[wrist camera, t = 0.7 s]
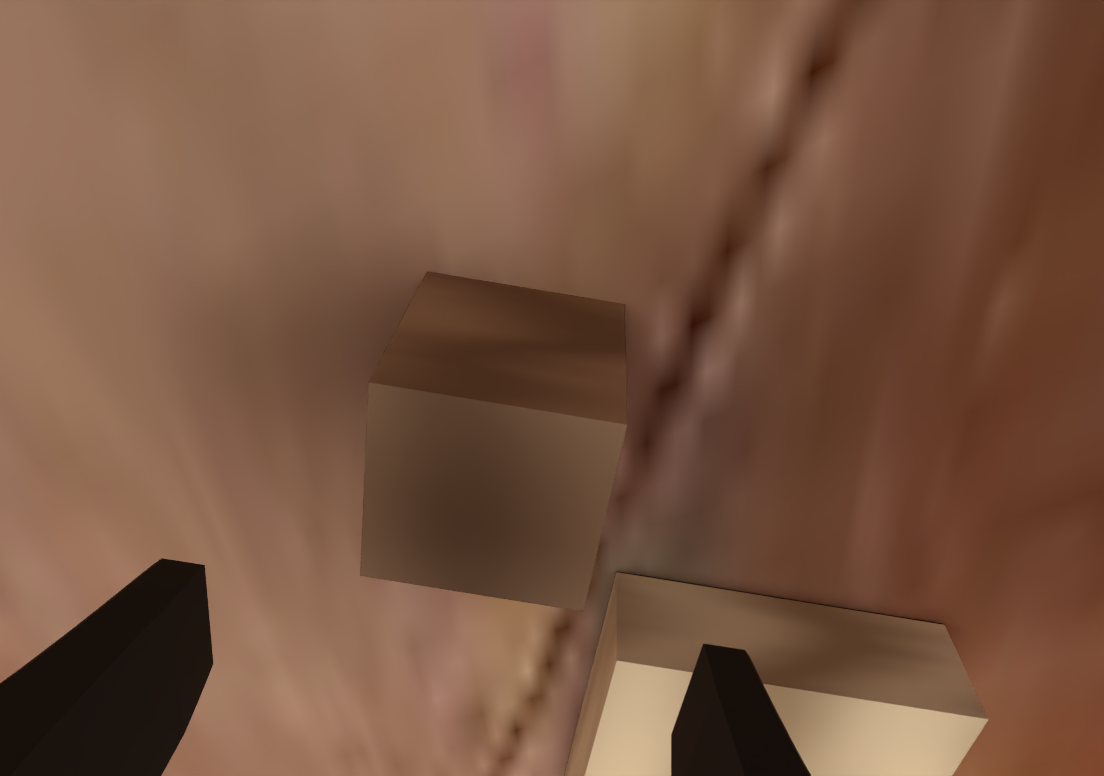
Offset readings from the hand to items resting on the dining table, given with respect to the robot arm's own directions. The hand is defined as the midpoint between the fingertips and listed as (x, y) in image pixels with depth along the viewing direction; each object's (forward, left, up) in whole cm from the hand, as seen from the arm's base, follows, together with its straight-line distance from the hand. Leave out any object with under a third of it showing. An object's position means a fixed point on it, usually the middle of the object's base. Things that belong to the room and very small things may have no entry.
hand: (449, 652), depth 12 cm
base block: (-8, +10, -8) cm, 15 cm away
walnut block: (0, 0, -8) cm, 8 cm away
